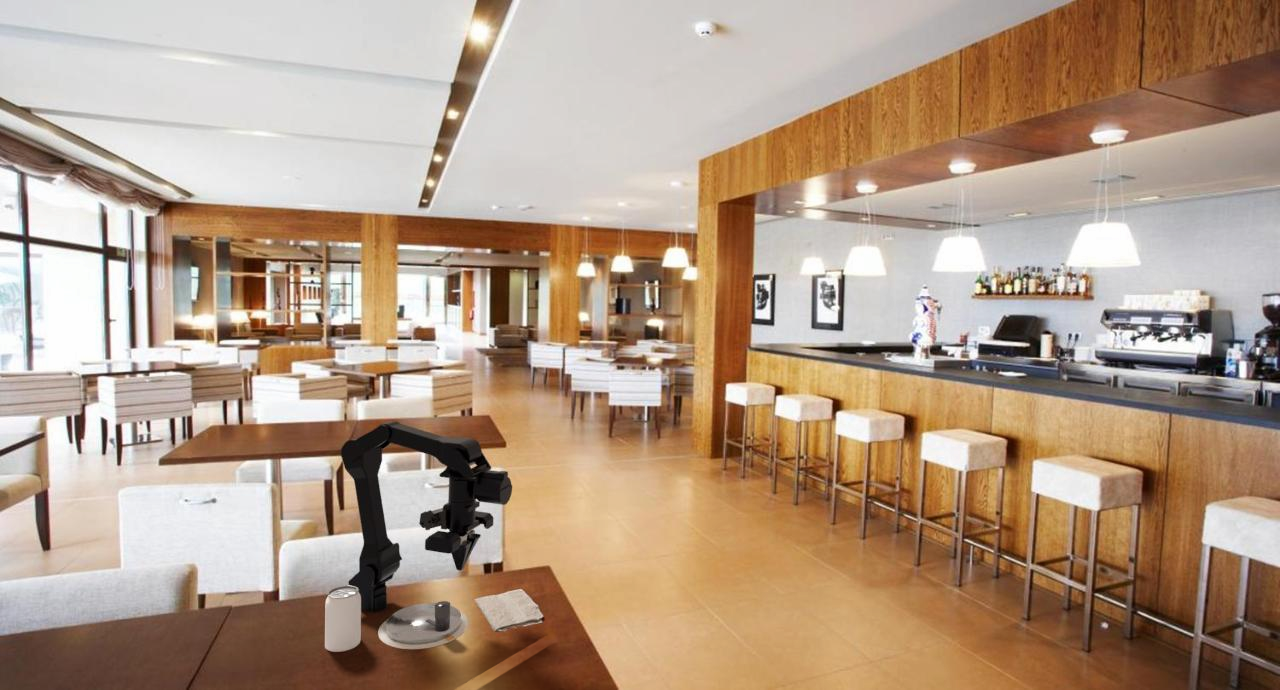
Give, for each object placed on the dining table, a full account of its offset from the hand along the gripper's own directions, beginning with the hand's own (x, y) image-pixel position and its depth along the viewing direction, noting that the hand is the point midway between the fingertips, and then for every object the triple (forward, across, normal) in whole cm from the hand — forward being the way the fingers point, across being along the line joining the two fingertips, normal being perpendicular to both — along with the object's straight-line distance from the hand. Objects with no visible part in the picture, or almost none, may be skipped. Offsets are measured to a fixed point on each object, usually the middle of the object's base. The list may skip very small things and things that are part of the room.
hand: (459, 569), depth 140 cm
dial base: (+13, +5, -5) cm, 15 cm away
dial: (+11, +5, -5) cm, 13 cm away
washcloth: (+13, -8, +8) cm, 17 cm away
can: (+13, +16, -16) cm, 26 cm away
